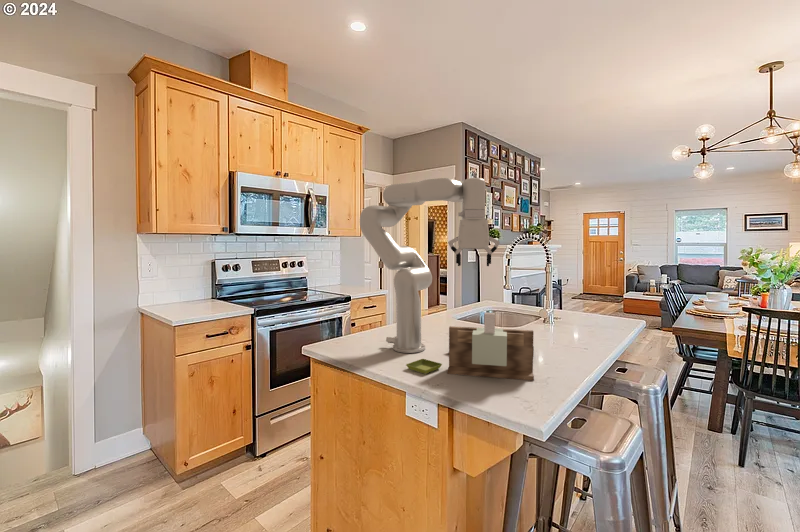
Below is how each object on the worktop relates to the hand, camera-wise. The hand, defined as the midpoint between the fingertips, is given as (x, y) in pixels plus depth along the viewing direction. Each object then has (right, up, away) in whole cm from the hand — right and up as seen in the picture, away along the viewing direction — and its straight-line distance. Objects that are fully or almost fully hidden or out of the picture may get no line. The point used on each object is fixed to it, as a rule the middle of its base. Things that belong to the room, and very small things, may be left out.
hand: (473, 265), depth 136 cm
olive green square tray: (-17, -35, -6) cm, 39 cm away
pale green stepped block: (+2, -29, -14) cm, 32 cm away
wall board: (+3, -34, -11) cm, 36 cm away
